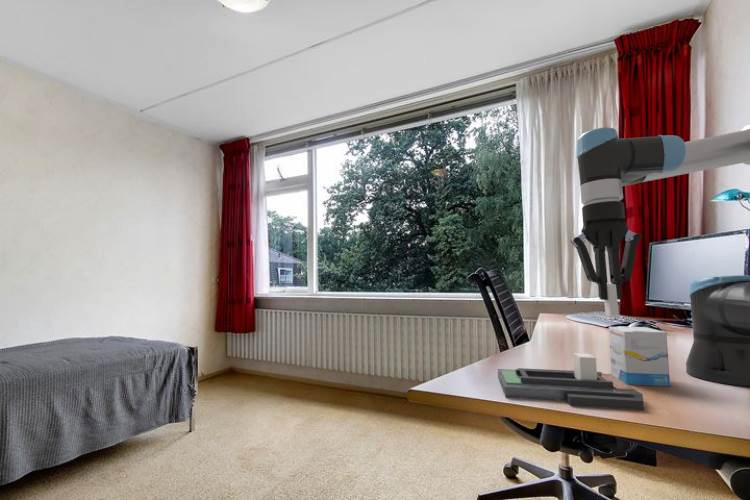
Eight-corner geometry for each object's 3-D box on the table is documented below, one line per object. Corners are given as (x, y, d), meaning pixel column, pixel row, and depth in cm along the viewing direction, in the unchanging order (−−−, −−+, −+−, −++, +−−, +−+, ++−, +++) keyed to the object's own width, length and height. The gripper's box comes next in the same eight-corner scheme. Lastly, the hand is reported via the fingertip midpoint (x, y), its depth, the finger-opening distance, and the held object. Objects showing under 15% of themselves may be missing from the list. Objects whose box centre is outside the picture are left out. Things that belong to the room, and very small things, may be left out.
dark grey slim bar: (600, 379, 84) (600, 371, 84) (603, 381, 82) (603, 373, 82) (518, 374, 88) (517, 368, 88) (519, 376, 86) (518, 369, 86)
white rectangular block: (590, 377, 77) (588, 353, 77) (597, 383, 73) (596, 357, 73) (574, 376, 77) (573, 353, 78) (580, 382, 73) (579, 357, 74)
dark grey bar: (639, 407, 66) (639, 398, 66) (644, 410, 64) (643, 401, 64) (567, 402, 68) (567, 393, 69) (570, 405, 67) (569, 396, 67)
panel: (611, 383, 80) (611, 369, 80) (643, 405, 67) (642, 388, 67) (497, 377, 85) (497, 364, 86) (505, 397, 72) (504, 381, 72)
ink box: (671, 387, 77) (667, 331, 78) (627, 384, 79) (624, 330, 80) (649, 376, 86) (646, 326, 87) (610, 374, 87) (607, 325, 88)
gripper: (628, 204, 79) (639, 313, 77) (563, 208, 82) (572, 314, 80) (645, 196, 72) (657, 317, 70) (573, 202, 75) (583, 318, 73)
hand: (612, 315), depth 75 cm, fingers closed
